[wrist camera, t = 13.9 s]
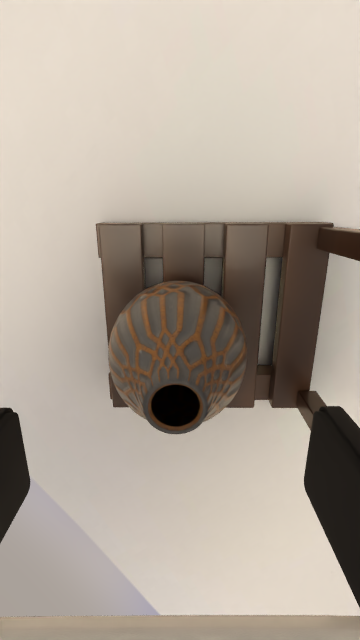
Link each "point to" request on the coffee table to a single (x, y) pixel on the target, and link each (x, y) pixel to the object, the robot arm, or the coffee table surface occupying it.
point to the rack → (238, 289)
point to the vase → (177, 355)
